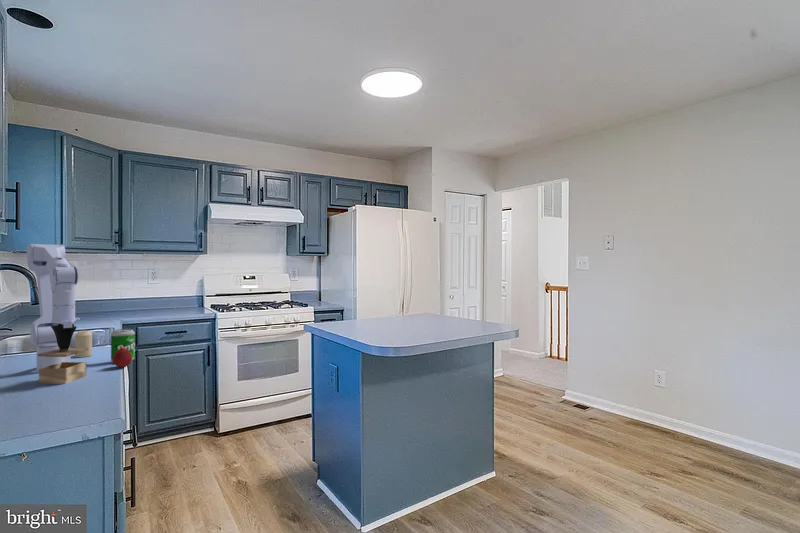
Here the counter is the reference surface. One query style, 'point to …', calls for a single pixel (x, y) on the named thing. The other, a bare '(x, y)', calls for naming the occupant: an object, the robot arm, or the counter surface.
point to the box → (62, 372)
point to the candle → (83, 343)
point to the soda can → (123, 341)
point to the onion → (122, 357)
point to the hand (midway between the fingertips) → (63, 348)
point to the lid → (62, 352)
